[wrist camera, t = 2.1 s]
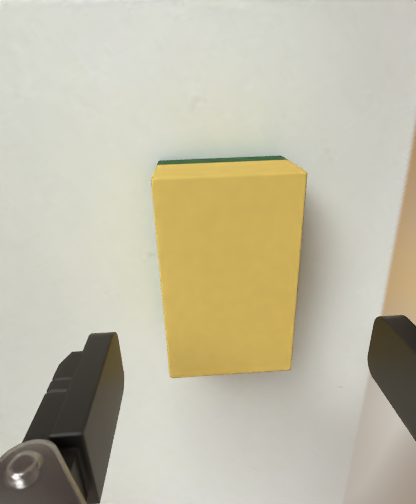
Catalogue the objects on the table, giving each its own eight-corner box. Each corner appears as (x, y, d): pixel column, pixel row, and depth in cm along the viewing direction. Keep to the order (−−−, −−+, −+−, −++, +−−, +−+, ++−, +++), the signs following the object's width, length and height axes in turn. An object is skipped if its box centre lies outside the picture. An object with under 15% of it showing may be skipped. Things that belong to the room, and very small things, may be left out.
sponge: (273, 324, 19) (291, 370, 16) (172, 330, 19) (169, 379, 16) (282, 155, 16) (308, 171, 12) (157, 160, 15) (150, 178, 12)
